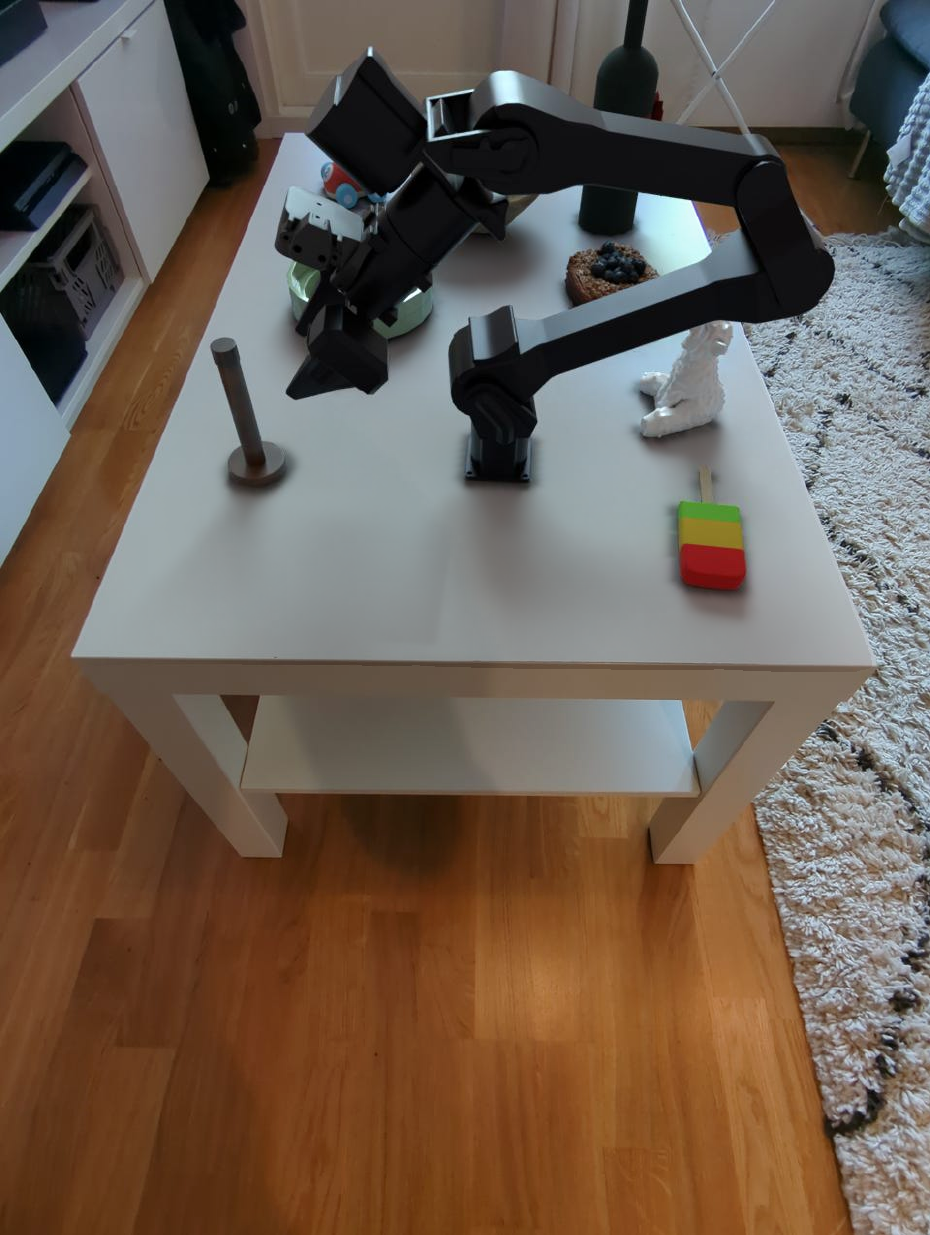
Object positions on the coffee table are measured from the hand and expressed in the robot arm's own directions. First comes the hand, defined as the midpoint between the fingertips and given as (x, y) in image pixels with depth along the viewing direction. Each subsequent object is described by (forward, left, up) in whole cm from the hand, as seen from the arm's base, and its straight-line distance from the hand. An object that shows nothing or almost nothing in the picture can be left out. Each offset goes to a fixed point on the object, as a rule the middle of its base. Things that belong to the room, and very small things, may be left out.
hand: (294, 363), depth 66 cm
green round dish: (+29, 0, -12) cm, 32 cm away
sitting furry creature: (+11, -37, -12) cm, 41 cm away
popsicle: (-6, -38, -12) cm, 41 cm away
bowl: (+50, -13, -12) cm, 53 cm away
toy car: (+59, +6, -12) cm, 61 cm away
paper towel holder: (-1, +6, -12) cm, 13 cm away
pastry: (+33, -31, -12) cm, 47 cm away
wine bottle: (+53, -32, -12) cm, 64 cm away
